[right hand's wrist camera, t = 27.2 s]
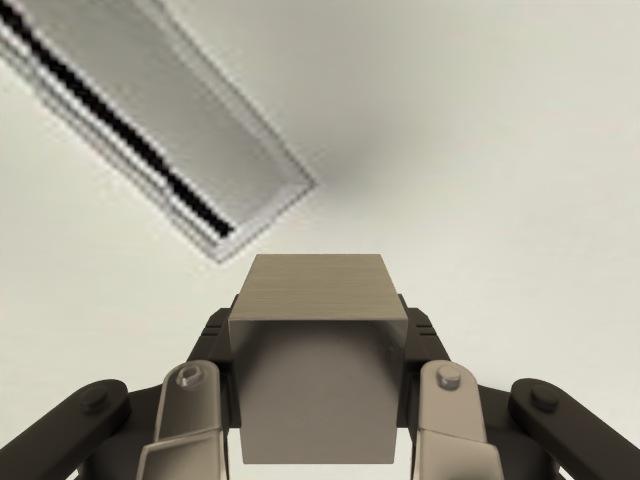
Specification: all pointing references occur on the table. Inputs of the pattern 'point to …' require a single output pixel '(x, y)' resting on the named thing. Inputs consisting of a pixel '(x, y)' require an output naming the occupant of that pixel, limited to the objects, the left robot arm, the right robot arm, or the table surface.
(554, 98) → the table surface
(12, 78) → the table surface
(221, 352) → the right robot arm
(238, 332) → the brick
